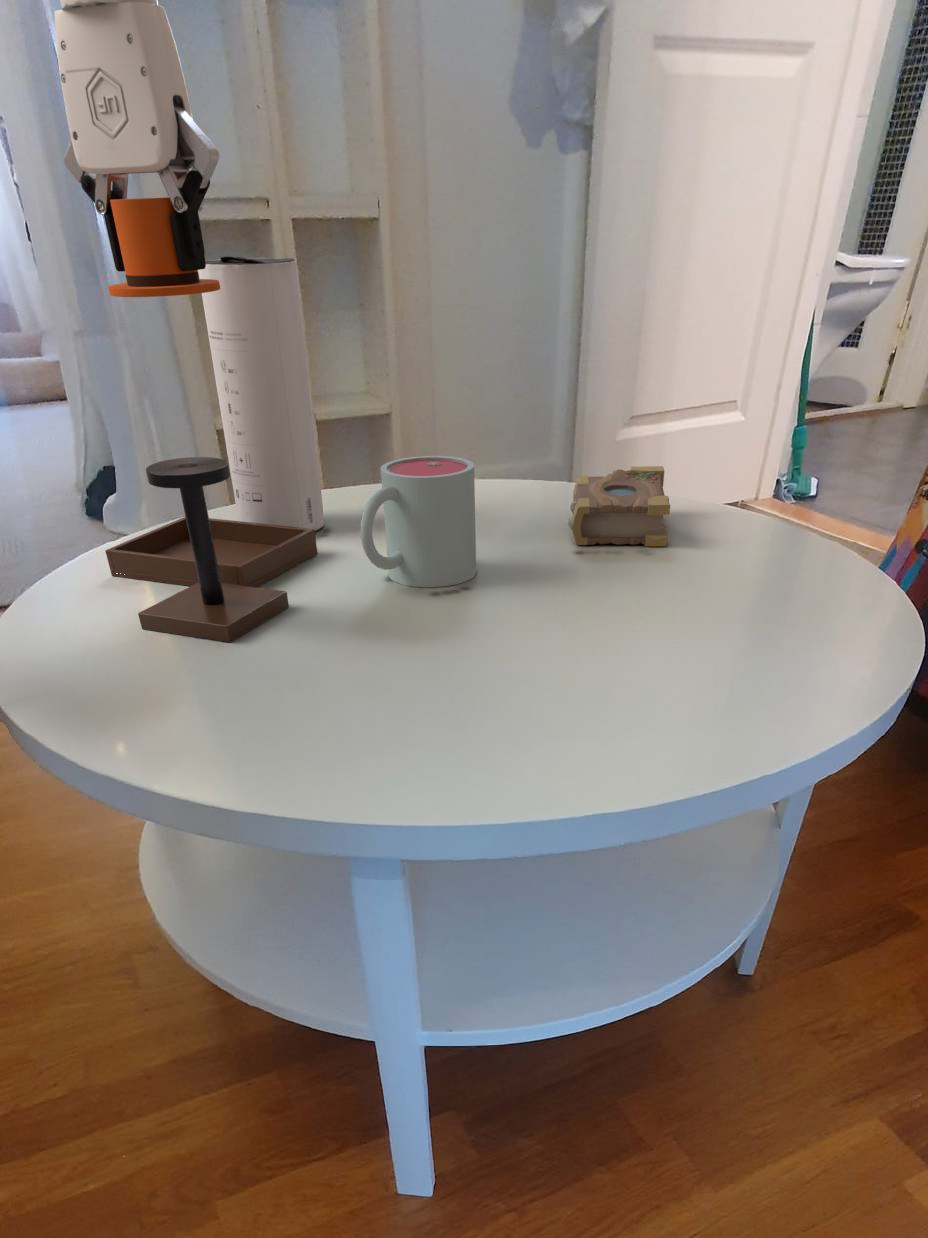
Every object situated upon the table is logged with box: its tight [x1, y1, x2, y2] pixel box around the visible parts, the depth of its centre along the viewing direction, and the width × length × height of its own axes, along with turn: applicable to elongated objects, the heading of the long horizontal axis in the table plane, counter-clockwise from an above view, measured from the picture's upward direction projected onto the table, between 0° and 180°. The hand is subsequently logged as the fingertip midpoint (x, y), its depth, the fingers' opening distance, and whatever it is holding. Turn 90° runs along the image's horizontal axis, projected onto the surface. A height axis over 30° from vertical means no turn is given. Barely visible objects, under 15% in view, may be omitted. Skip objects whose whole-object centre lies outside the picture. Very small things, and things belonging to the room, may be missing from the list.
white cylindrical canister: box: [198, 255, 325, 532], centre depth 104 cm, size 11×10×26 cm
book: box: [567, 465, 671, 547], centre depth 107 cm, size 15×11×5 cm
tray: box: [105, 516, 319, 588], centre depth 101 cm, size 17×14×3 cm
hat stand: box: [137, 456, 290, 643], centre depth 85 cm, size 10×10×13 cm
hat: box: [107, 196, 220, 298], centre depth 84 cm, size 10×10×7 cm
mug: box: [360, 455, 477, 588], centre depth 94 cm, size 14×9×10 cm
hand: (160, 268), depth 85 cm, fingers closed on hat, 6 cm apart
